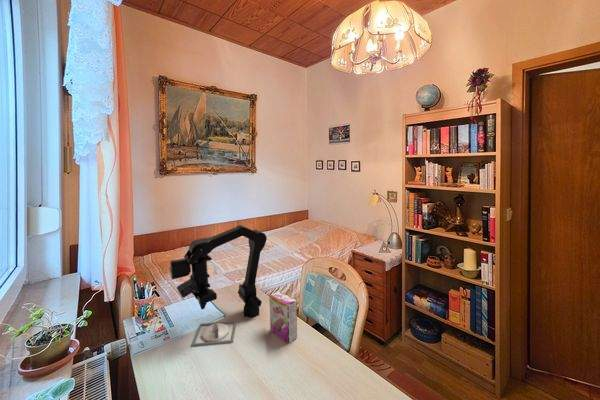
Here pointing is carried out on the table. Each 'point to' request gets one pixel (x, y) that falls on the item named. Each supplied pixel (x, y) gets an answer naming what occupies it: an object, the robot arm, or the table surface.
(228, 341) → the panel
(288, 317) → the candy bar box
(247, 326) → the table surface
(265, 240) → the robot arm
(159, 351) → the table surface
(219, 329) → the dial
